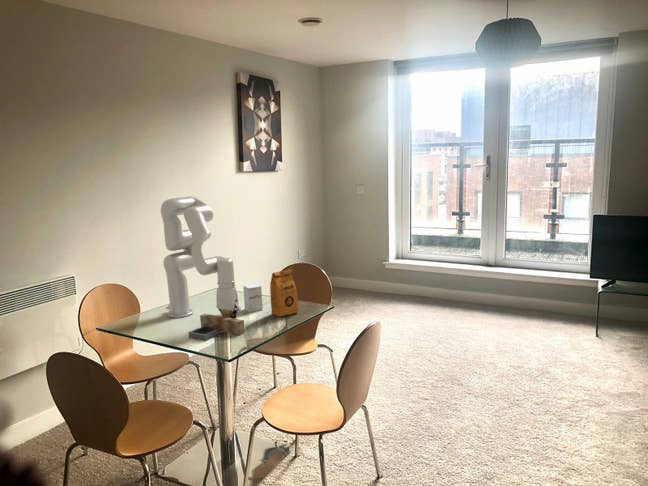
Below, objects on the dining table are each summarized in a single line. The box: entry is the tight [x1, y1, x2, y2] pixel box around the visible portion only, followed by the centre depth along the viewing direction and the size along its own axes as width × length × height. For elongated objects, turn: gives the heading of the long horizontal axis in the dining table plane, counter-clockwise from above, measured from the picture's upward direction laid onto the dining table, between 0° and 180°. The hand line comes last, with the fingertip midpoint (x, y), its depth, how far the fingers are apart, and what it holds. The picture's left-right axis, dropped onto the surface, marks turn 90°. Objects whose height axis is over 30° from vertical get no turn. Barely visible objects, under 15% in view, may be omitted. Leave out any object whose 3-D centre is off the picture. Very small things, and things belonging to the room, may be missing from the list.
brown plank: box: [199, 313, 246, 336], centre depth 240 cm, size 24×3×6 cm, turn 58°
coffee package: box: [269, 269, 299, 317], centre depth 259 cm, size 10×12×22 cm
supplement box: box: [243, 283, 264, 313], centre depth 271 cm, size 7×7×13 cm
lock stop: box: [221, 309, 234, 318], centre depth 247 cm, size 4×4×9 cm
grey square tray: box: [187, 326, 222, 342], centre depth 234 cm, size 10×10×2 cm
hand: (229, 322), depth 247 cm, fingers closed on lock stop, 4 cm apart
